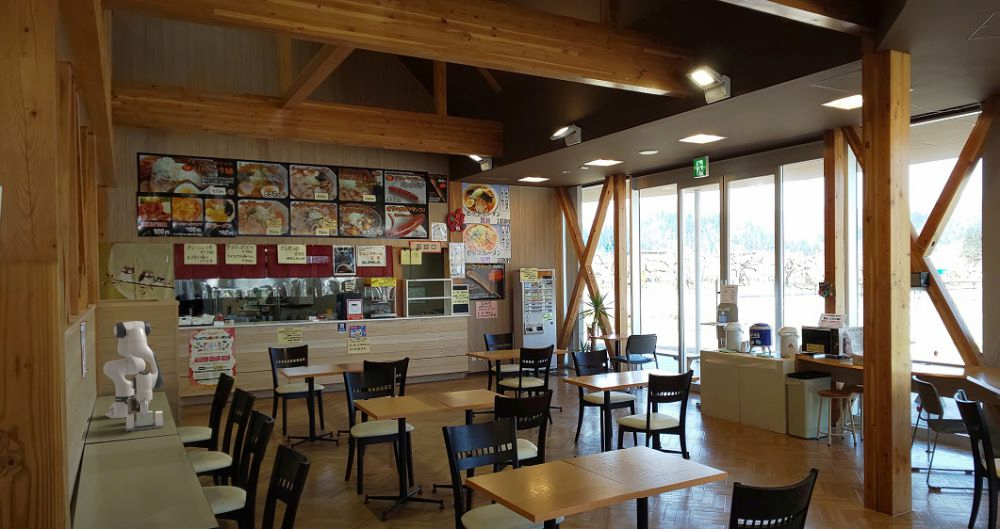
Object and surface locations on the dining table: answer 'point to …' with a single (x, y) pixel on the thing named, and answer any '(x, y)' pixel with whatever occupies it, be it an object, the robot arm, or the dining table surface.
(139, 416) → the block
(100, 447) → the dining table surface
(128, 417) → the module rack
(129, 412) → the coffee box
